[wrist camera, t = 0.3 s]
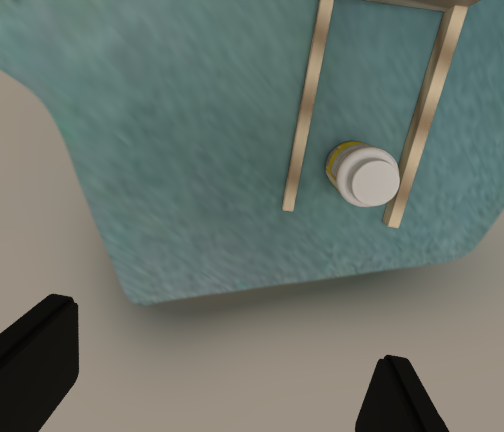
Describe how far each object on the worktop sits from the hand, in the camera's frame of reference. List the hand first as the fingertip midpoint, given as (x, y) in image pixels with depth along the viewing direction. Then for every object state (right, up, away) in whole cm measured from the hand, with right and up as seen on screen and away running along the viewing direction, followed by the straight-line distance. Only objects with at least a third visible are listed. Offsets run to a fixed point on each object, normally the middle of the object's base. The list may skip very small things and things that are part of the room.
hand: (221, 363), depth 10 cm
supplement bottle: (+12, +10, +27) cm, 31 cm away
